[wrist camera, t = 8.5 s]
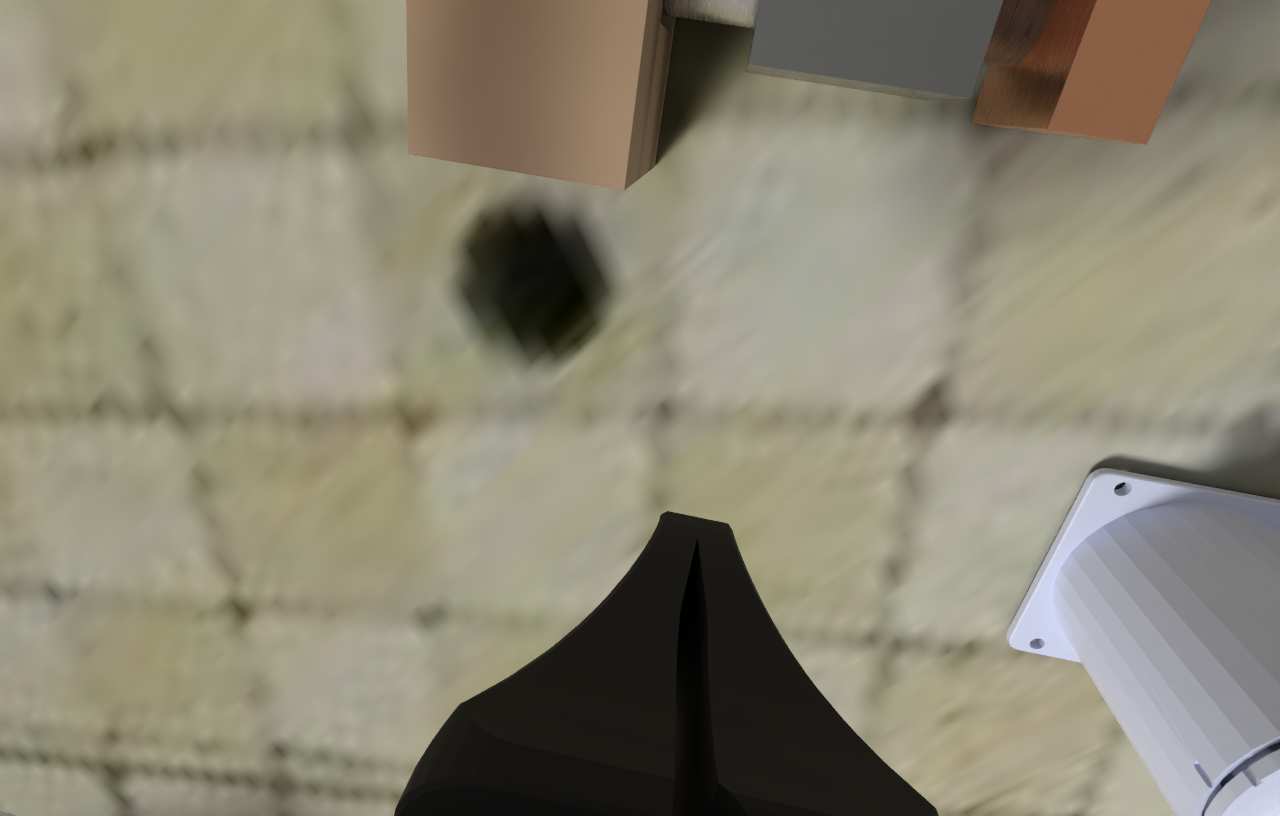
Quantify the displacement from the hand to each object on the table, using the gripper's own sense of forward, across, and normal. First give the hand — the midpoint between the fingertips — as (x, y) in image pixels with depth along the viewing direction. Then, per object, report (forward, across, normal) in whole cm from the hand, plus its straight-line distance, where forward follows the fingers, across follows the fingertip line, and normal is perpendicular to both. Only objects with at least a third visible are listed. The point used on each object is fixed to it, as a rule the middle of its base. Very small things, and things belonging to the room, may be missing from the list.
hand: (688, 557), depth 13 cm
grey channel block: (+10, -2, -11) cm, 15 cm away
